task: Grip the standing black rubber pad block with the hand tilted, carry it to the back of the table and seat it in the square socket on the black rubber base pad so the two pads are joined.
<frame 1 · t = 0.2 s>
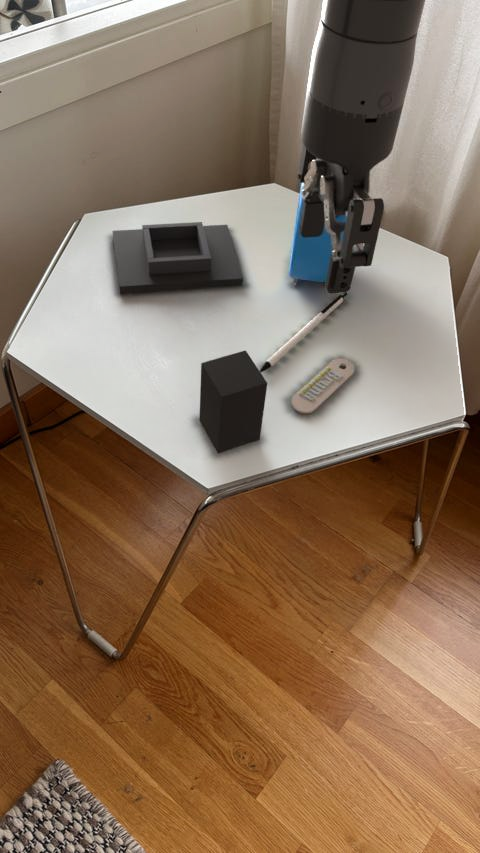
hand: (323, 262, 66), 19 cm above the table, tool pointing down, fingers open, 8 cm apart
pad block: (229, 430, 77), on the table
keychain: (323, 387, 82), on the table
base pad: (176, 261, 96), on the table
alarm clock: (311, 272, 96), on the table
pen: (304, 334, 88), on the table
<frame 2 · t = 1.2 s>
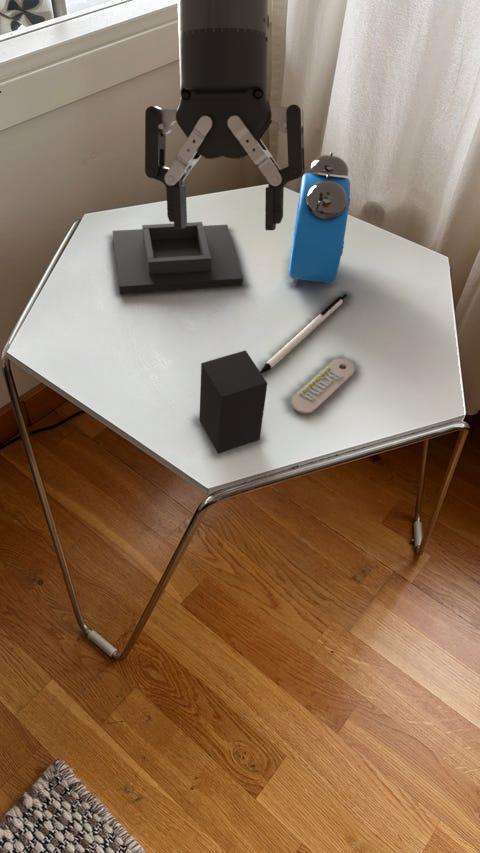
hand: (225, 228, 66), 21 cm above the table, tool tilted 30°, fingers open, 8 cm apart
nothing on the table moved.
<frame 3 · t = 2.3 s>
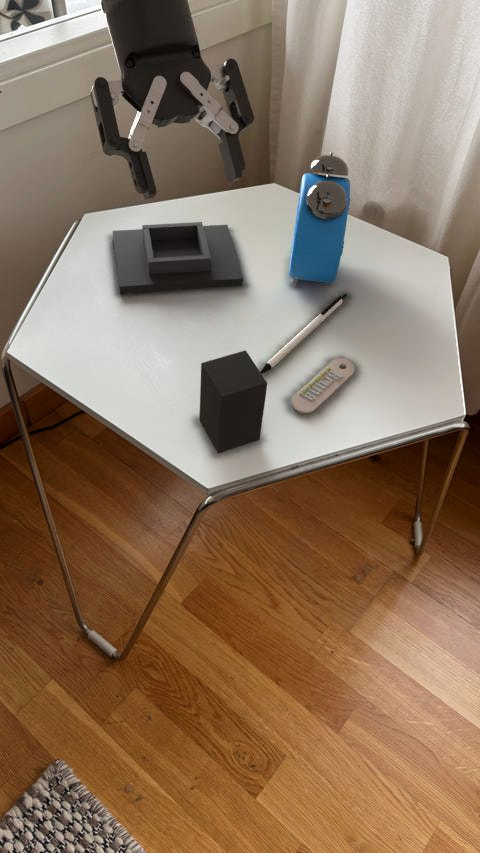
hand: (194, 188, 66), 23 cm above the table, tool tilted 45°, fingers open, 8 cm apart
nothing on the table moved.
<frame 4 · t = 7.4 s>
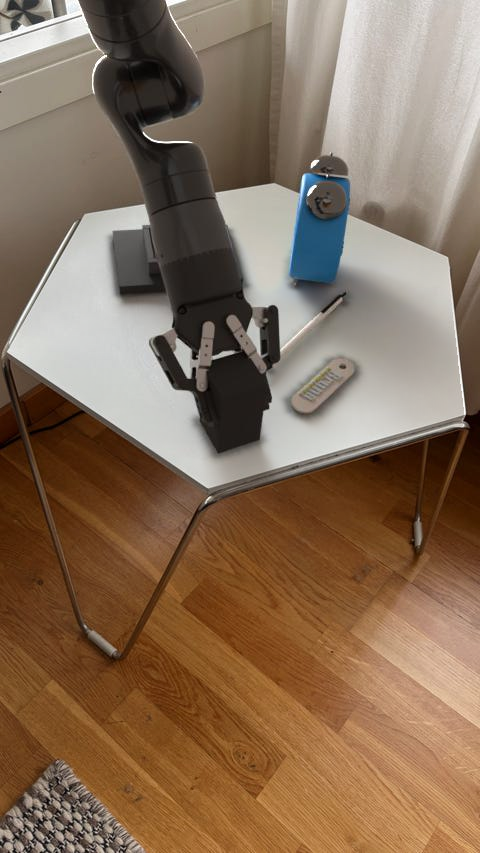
hand: (239, 417, 73), 4 cm above the table, tool tilted 45°, fingers closed on pad block, 5 cm apart
pad block: (229, 430, 77), on the table, touching gripper
everything else where it was.
when the fingers open (5 cm above the table, at t = 17.8 s): pad block stays where it is, resting on base pad.
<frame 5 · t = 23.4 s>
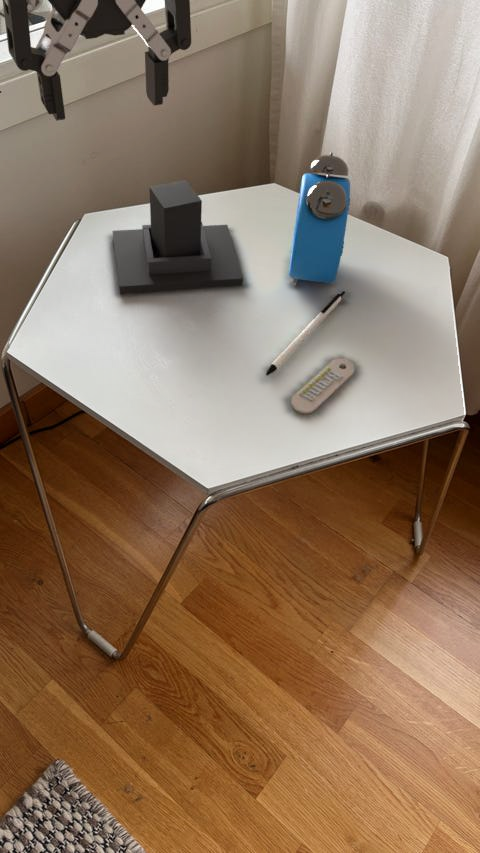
hand: (107, 108, 60), 30 cm above the table, tool pointing down, fingers open, 8 cm apart
pad block: (175, 253, 95), point 1 cm above the table, touching base pad
everything else where it was.
at the end: pad block 0.1 cm off-centre on the base pad, point 1.2 cm above the base pad's base; pad block tilted 0°; the gripper is holding nothing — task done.
